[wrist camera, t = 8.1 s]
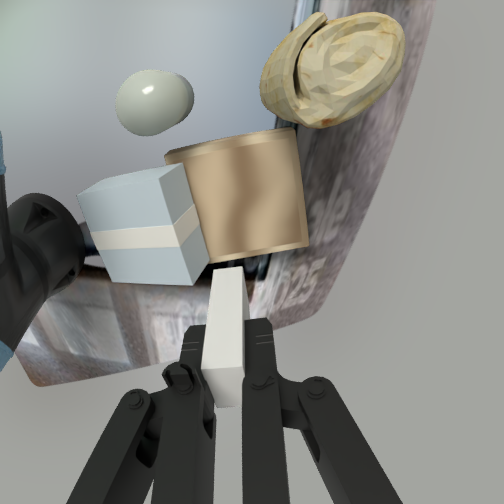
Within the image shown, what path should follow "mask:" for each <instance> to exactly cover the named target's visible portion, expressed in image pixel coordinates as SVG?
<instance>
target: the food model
mask: <svg viewBox="0 0 504 504" xmlns="http://www.w3.org/2000/svg"><path fill="white" fill-rule="evenodd" d="M326 21H327V17H326V15H325V13H320V12H316V13H314V14H312V15H311V16H309V17H308V18H307V19H306V20H305V21H304V22H303V23H302V24H301V25H299V26H298V27H297V28H296V29H295V30H293V31H292V32H291V33H289V34H288V35H287V36H286V37H285V39H284V40H283V41H282V42H281V43H280V44H279V45H278V47H277V48H276V49H275V50H274V51H273V53H272V54H271V56H270V58H269V59H268V61H267V63H266V64H265V66H264V68H263V72H262V75H261V81H260V96H261V101H262V103H263V104H264V106H265V107H266V108H267V109H268V110H269V111H271V112H272V113H274V114H275V115H277V116H278V117H279V118H281V119H283V120H287V121H291V122H294V123H299V124H301V125H303V126H305V127H306V128H316V129H322V128H326V127H330V126H334V125H338V124H340V123H342V122H344V121H347V120H349V119H351V118H353V117H355V116H356V115H358V114H359V113H361V112H362V111H364V110H365V109H367V108H368V107H370V106H371V105H372V104H374V103H375V102H376V101H377V100H378V99H379V98H380V97H381V96H382V95H383V94H385V93H386V92H387V91H388V90H389V89H390V87H391V86H392V84H393V83H394V81H395V80H396V78H397V76H398V75H399V73H400V72H401V68H402V64H403V59H404V55H405V36H404V32H403V30H402V27H401V26H400V25H399V24H398V22H397V21H396V20H394V19H392V18H391V17H389V16H387V15H385V14H381V13H377V12H366V13H359V14H356V15H352V16H348V17H343V18H339V19H335V20H331V21H328V22H326Z"/></svg>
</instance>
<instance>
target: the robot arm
mask: <svg viewBox="0 0 504 504" xmlns="http://www.w3.org/2000/svg"><path fill="white" fill-rule="evenodd" d="M5 172H6V167H5V165H4V160H3V144H2V135H1V132H0V372H1V371H2V369H3V368H4V366H5V365H6V363H7V362H8V360H9V359H10V358H12V357H13V354H14V351H15V349H16V348H17V346H18V344H19V342H20V341H21V339H22V337H23V335H24V334H25V332H26V330H27V329H28V327H29V325H30V324H31V322H32V321H33V319H34V317H35V316H36V314H37V313H38V311H39V310H40V308H41V307H42V305H43V303H44V302H45V301H46V299H48V298H49V297H51V296H53V295H54V294H56V293H58V292H59V291H61V290H63V289H64V288H66V287H67V286H69V285H70V284H71V283H72V282H73V281H74V280H75V278H76V277H77V275H78V274H79V273H80V271H81V269H82V267H83V264H84V260H85V244H84V239H83V236H82V233H81V230H80V228H79V226H78V224H77V222H76V220H75V219H74V217H73V216H72V215H71V213H70V212H69V211H68V210H67V209H66V208H65V207H64V206H63V205H62V204H61V203H60V202H58V201H57V200H55V199H54V198H52V197H50V196H48V195H45V194H40V193H30V194H26V195H24V196H22V197H20V198H19V199H18V200H16V201H15V202H13V203H12V204H11V205H10V206H9V207H8V208H7V202H6V190H5V176H4V174H5ZM181 350H182V351H181V354H180V360H179V362H174V363H172V364H170V365H168V366H167V367H166V369H164V371H163V373H162V376H163V378H164V380H165V382H166V384H167V385H168V388H166V389H164V390H162V391H158V392H154V393H151V394H148V393H147V391H144V390H142V389H133V390H130V391H129V392H127V393H126V394H125V395H124V396H123V397H122V399H121V400H120V402H119V404H118V406H117V408H116V409H115V411H114V413H113V415H112V417H111V419H110V420H109V422H108V424H107V426H106V428H105V430H104V431H103V433H102V435H101V437H100V439H99V441H98V443H97V444H96V447H95V448H94V450H93V452H92V454H91V456H90V458H89V460H88V462H87V464H86V466H85V467H84V469H83V471H82V473H81V475H80V477H79V479H78V481H77V483H76V485H75V487H74V489H73V491H72V493H71V495H70V497H69V499H68V501H67V503H66V504H143V503H144V500H145V498H146V496H147V494H148V491H149V489H150V486H151V484H152V482H153V479H154V483H153V490H152V499H151V504H213V492H214V463H215V438H216V415H215V413H214V402H215V405H216V407H217V408H225V407H240V406H242V485H243V504H290V497H289V487H288V474H287V464H286V454H285V443H284V432H283V427H286V428H293V429H299V430H300V431H301V433H302V436H303V438H304V440H305V442H306V444H307V446H308V449H309V451H310V453H311V455H312V457H313V460H314V462H315V464H316V466H317V468H318V471H319V473H320V475H321V477H322V479H323V481H324V483H325V486H326V488H327V490H328V492H329V494H330V496H331V498H332V500H333V503H334V504H403V503H402V501H401V500H400V498H399V496H398V495H397V493H396V491H395V490H394V488H393V486H392V484H391V483H390V481H389V479H388V477H387V476H386V474H385V472H384V471H383V469H382V467H381V466H380V464H379V462H378V460H377V459H376V457H375V455H374V453H373V452H372V450H371V448H370V446H369V445H368V443H367V441H366V440H365V438H364V436H363V435H362V433H361V431H360V429H359V428H358V426H357V424H356V423H355V421H354V419H353V417H352V416H351V414H350V412H349V411H348V409H347V407H346V405H345V404H344V402H343V400H342V399H341V397H340V395H339V393H338V392H337V390H336V388H335V387H334V385H333V384H332V383H331V381H330V380H328V379H326V378H324V377H318V376H315V377H310V378H308V379H306V380H304V381H303V382H302V383H301V382H294V381H290V380H287V379H285V378H283V377H282V376H281V375H280V374H279V373H278V371H277V365H276V355H275V346H274V338H273V330H272V324H271V323H270V322H269V320H268V319H267V318H258V319H250V312H249V302H248V296H247V291H246V285H245V279H244V273H243V268H242V266H241V267H233V268H224V269H216V270H214V272H213V279H212V286H211V293H210V300H209V308H208V315H207V323H206V324H205V325H194V326H190V327H189V328H188V330H187V331H186V332H185V334H184V339H183V344H182V349H181Z"/></svg>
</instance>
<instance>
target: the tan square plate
mask: <svg viewBox="0 0 504 504" xmlns="http://www.w3.org/2000/svg"><path fill="white" fill-rule="evenodd" d="M164 158H165V161H166V165H172V164H177V163H183V166H184V169H185V173H186V177H187V181H188V184H189V188H190V192H191V196H192V199H193V203H194V204H195V208H196V211H197V215H198V218H199V222H200V228H201V231H202V235H203V238H204V242H205V245H206V249H207V252H208V255H209V259H210V260H209V262H208V263H207V264H210V263H216V262H222V261H227V260H233V259H239V258H244V257H250V256H256V255H261V254H267V253H273V252H278V251H284V250H290V249H295V248H301V247H307V246H309V237H308V228H307V218H306V209H305V201H304V192H303V184H302V176H301V169H300V161H299V154H298V147H297V140H296V133H295V130H294V129H293V128H292V127H284V128H278V129H272V130H266V131H259V132H253V133H248V134H243V135H237V136H232V137H227V138H222V139H217V140H212V141H207V142H203V143H199V144H194V145H190V146H186V147H181V148H177V149H173V150H170V151H169V152H168V153H167V154H165V155H164Z"/></svg>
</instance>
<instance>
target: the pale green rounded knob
mask: <svg viewBox="0 0 504 504" xmlns="http://www.w3.org/2000/svg"><path fill="white" fill-rule="evenodd" d="M193 104H194V93H193V89H192V86H191V85H190V83H189V82H188V81H187V80H186V79H185V78H184V77H183V76H181V75H178V74H176V73H171V72H165V71H159V70H143V71H139V72H137V73H135V74H133V75H132V76H130V77H129V78H128V79H127V80H126V81H125V82H124V83H123V85H122V86H121V87H120V89H119V91H118V94H117V97H116V113H117V116H118V118H119V121H120V122H121V124H122V125H123V126H124V127H125V128H126V129H127V130H128V131H130V132H131V133H133V134H136V135H139V136H153V135H157V134H159V133H161V132H163V131H165V130H167V129H169V128H170V127H172V126H174V125H176V124H178V123H180V122H181V121H183V120H184V119H185V118H186V117H187V116H188V114H189V113H190V112H191V110H192V107H193Z"/></svg>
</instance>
